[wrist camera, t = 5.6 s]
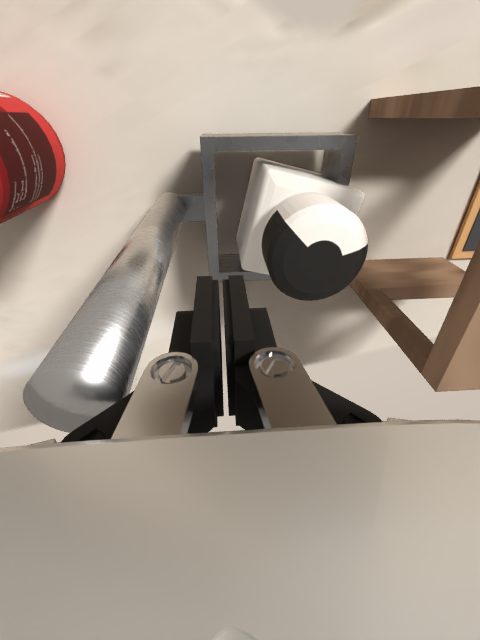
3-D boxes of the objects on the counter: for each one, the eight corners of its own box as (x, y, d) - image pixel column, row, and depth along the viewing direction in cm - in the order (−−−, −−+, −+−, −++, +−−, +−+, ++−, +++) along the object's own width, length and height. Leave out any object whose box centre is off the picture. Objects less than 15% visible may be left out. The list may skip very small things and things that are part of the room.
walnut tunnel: (503, 98, 24) (889, 72, 10) (438, 268, 32) (606, 381, 18) (371, 99, 23) (593, 72, 10) (339, 271, 31) (435, 391, 18)
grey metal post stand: (336, 132, 23) (709, 178, 6) (318, 259, 29) (478, 476, 11) (146, 134, 22) (-99, 194, 5) (165, 264, 28) (84, 506, 11)
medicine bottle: (305, 253, 30) (350, 321, 20) (235, 239, 29) (246, 304, 19) (334, 176, 26) (406, 212, 16) (254, 155, 25) (280, 181, 15)
